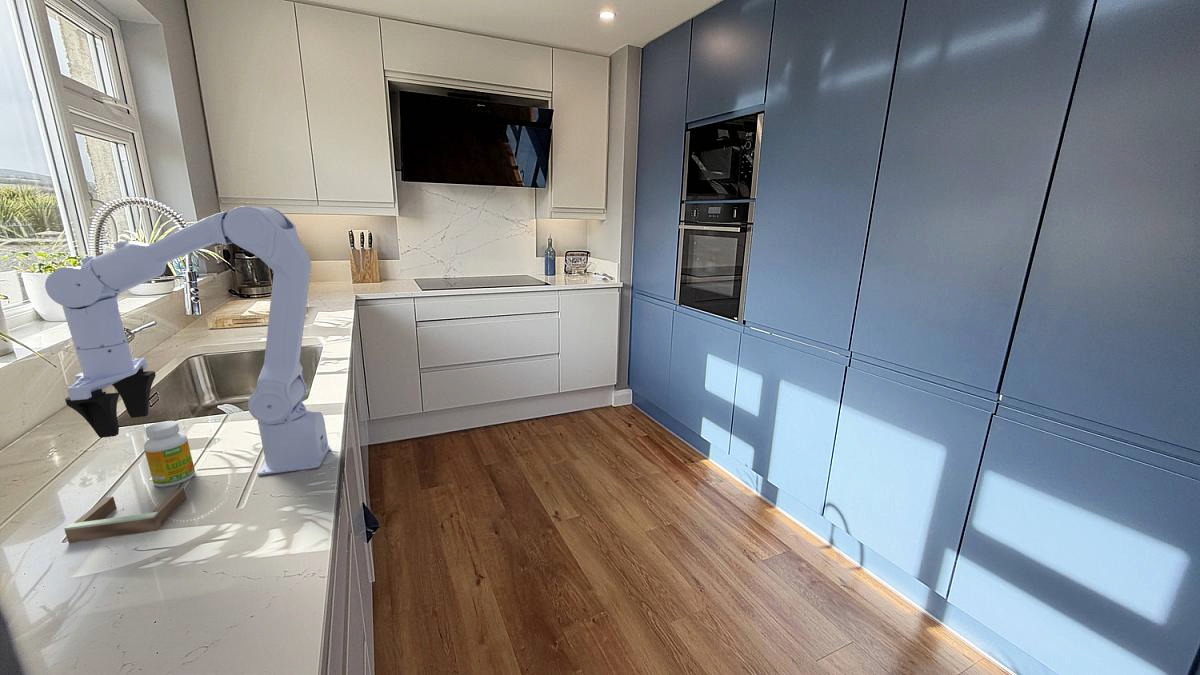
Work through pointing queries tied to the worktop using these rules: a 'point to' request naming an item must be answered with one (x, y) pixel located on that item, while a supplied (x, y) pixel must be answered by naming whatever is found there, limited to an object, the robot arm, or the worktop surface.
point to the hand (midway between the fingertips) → (125, 425)
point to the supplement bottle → (168, 454)
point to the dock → (121, 519)
